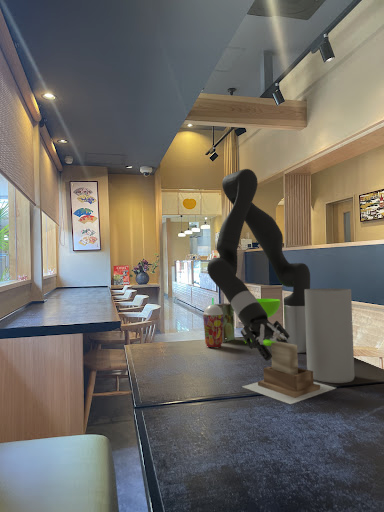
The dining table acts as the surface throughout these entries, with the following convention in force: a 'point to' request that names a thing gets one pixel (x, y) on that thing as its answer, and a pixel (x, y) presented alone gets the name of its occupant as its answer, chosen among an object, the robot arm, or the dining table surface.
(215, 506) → the dining table surface
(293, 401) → the mat
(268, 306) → the wineglass
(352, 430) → the dining table surface
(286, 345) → the beech block
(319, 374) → the cylinder vase
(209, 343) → the smoothie
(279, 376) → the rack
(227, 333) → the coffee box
